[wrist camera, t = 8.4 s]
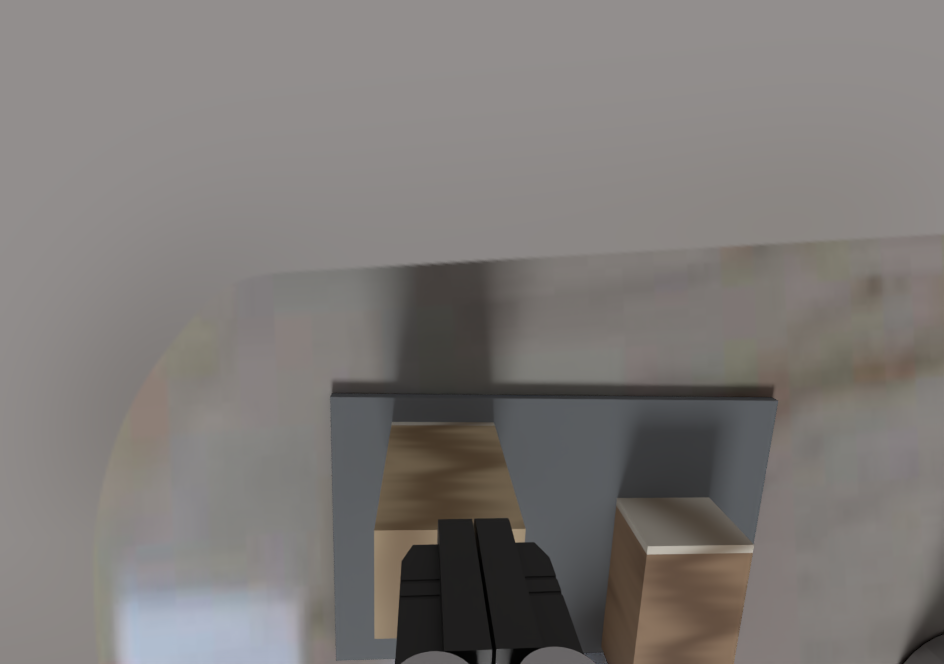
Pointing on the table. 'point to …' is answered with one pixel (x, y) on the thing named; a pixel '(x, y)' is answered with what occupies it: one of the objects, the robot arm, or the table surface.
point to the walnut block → (674, 583)
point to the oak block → (434, 497)
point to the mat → (550, 481)
